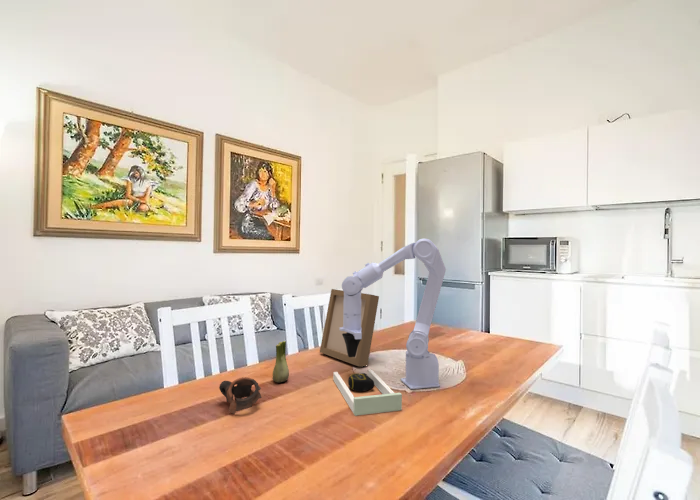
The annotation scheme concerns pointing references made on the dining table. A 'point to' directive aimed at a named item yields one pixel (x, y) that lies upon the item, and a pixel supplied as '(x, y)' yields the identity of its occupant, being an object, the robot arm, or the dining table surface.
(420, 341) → the robot arm
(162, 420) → the dining table surface
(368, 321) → the photo frame
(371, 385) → the tape measure
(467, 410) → the dining table surface
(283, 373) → the fennel bulb
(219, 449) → the dining table surface
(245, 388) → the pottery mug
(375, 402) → the bay
